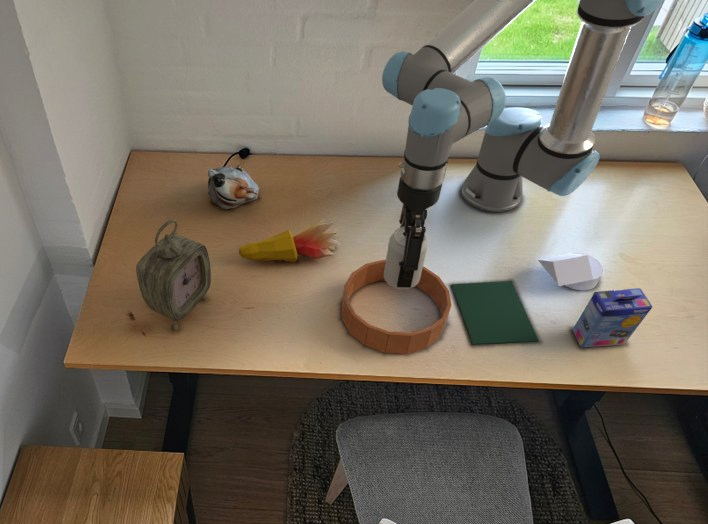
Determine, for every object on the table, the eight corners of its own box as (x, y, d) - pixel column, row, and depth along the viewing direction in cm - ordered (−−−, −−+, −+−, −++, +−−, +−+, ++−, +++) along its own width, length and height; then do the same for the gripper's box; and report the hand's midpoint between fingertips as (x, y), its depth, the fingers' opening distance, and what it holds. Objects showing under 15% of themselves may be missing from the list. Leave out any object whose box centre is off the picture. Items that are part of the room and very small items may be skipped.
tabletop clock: (176, 338, 131) (158, 252, 112) (144, 323, 134) (121, 237, 115) (214, 297, 139) (203, 210, 120) (183, 283, 142) (167, 196, 123)
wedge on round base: (553, 296, 136) (605, 286, 137) (564, 275, 131) (617, 264, 132) (532, 270, 141) (583, 260, 143) (542, 248, 136) (594, 238, 138)
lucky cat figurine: (267, 189, 164) (270, 165, 151) (246, 225, 162) (247, 204, 149) (220, 164, 165) (218, 138, 152) (198, 200, 163) (195, 176, 149)
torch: (243, 270, 150) (341, 247, 149) (244, 278, 142) (347, 255, 142) (236, 238, 147) (335, 215, 146) (237, 245, 139) (342, 221, 139)
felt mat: (451, 285, 139) (451, 284, 139) (511, 282, 139) (511, 280, 139) (472, 345, 127) (472, 343, 127) (538, 341, 128) (538, 340, 127)
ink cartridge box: (581, 349, 126) (610, 302, 115) (570, 329, 129) (597, 281, 118) (627, 345, 126) (660, 298, 115) (614, 326, 130) (646, 277, 119)
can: (421, 270, 127) (432, 226, 118) (416, 295, 123) (426, 251, 114) (386, 263, 129) (394, 220, 120) (379, 287, 125) (386, 244, 115)
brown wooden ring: (342, 276, 142) (344, 257, 137) (439, 280, 140) (444, 261, 136) (341, 350, 128) (344, 332, 123) (450, 356, 126) (456, 337, 121)
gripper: (396, 146, 113) (382, 238, 131) (403, 215, 101) (386, 307, 118) (437, 147, 113) (417, 240, 130) (449, 216, 100) (425, 308, 117)
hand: (402, 271), depth 124 cm, fingers closed on can, 7 cm apart
